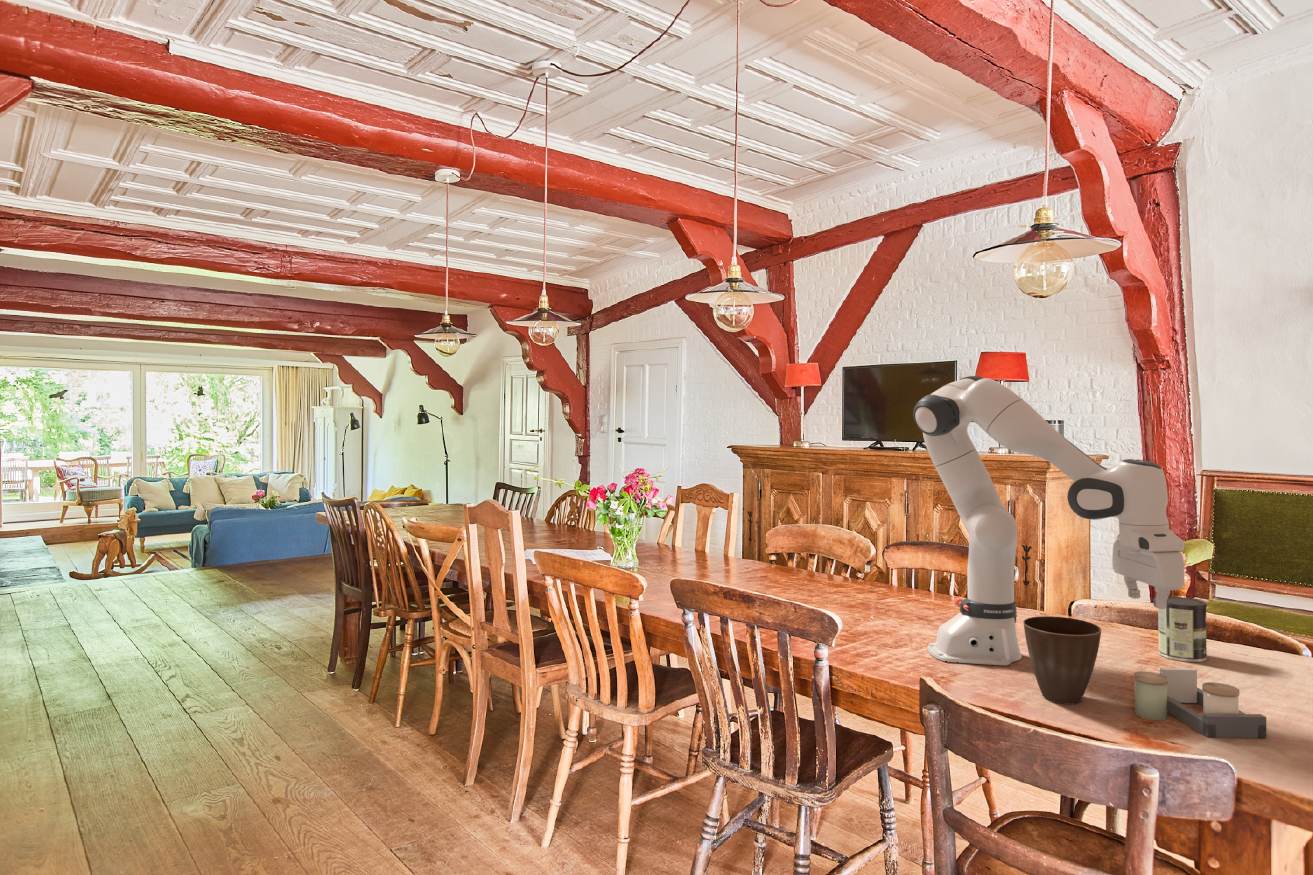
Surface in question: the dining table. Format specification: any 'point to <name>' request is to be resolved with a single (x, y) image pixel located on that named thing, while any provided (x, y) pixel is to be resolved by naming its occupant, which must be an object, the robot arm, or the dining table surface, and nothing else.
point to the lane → (1219, 721)
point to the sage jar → (1151, 695)
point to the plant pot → (1062, 655)
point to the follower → (1181, 684)
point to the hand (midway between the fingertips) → (1146, 602)
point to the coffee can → (1183, 630)
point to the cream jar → (1220, 698)
